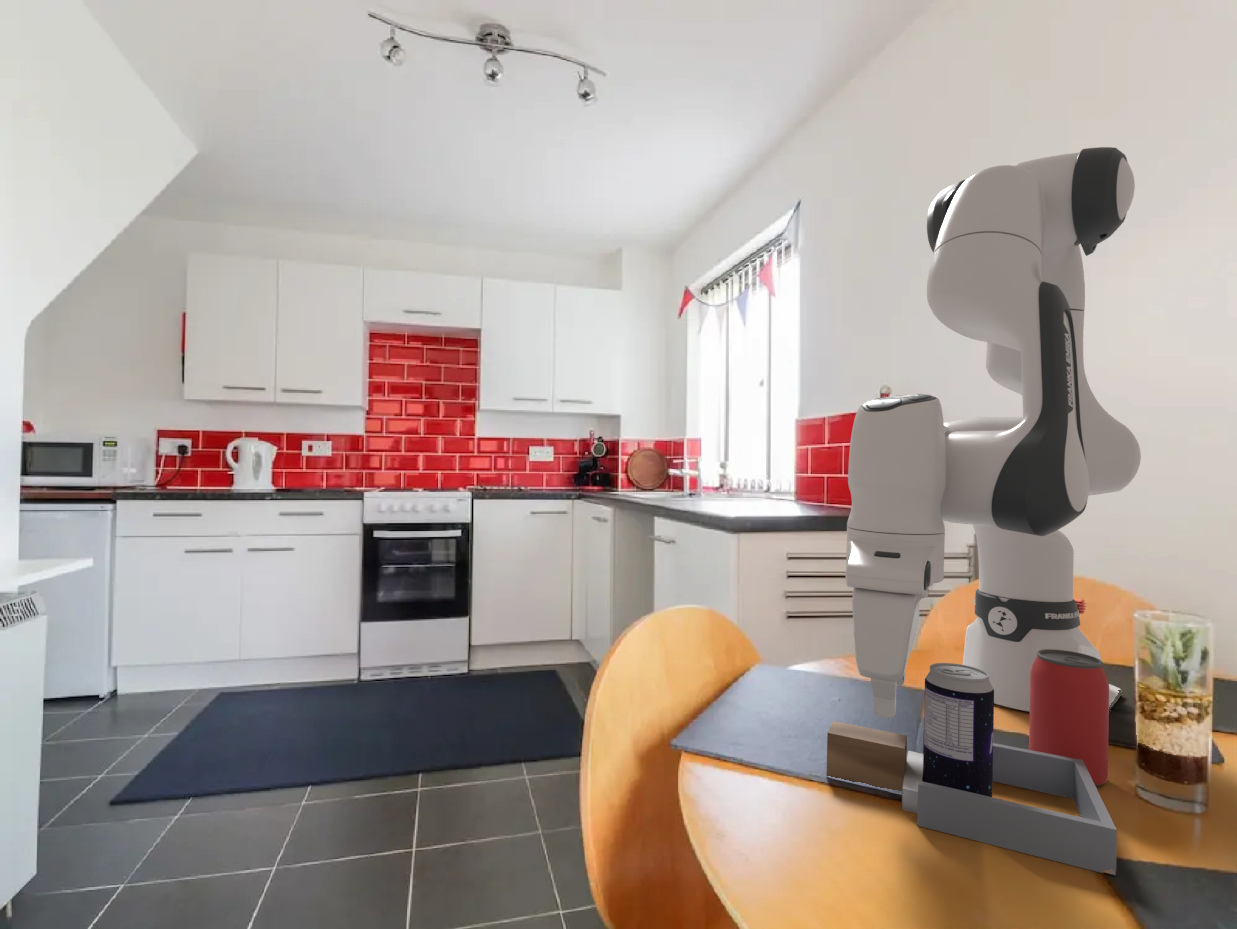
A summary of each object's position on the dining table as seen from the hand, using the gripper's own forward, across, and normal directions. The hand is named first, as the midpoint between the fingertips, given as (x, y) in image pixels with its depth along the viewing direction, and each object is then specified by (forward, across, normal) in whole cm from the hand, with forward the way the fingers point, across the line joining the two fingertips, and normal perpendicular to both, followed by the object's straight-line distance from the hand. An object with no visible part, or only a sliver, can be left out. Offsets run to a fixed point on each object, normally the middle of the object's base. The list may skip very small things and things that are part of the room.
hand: (890, 697), depth 62 cm
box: (+8, +1, +10) cm, 13 cm away
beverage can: (+8, +1, +6) cm, 10 cm away
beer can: (+8, -11, +16) cm, 21 cm away
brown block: (+8, +1, -2) cm, 8 cm away
